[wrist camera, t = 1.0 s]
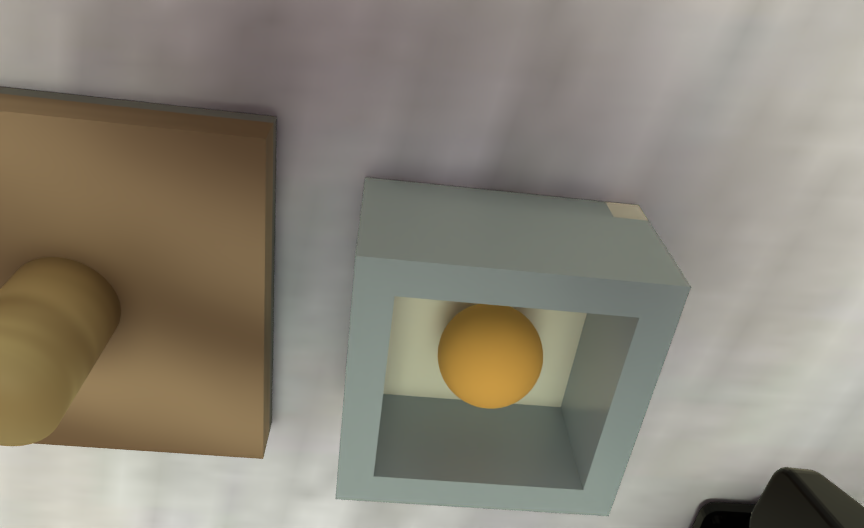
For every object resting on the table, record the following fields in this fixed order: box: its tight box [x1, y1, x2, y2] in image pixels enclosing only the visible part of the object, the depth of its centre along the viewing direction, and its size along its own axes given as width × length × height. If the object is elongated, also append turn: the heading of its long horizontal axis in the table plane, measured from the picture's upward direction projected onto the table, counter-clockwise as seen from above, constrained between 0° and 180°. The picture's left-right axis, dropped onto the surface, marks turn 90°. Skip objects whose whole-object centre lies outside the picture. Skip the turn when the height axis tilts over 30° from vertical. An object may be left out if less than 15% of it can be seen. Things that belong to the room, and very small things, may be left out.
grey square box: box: [336, 177, 691, 516], centre depth 21 cm, size 8×8×4 cm
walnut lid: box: [0, 93, 274, 459], centre depth 19 cm, size 11×11×5 cm
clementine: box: [438, 304, 543, 409], centre depth 20 cm, size 3×3×3 cm
